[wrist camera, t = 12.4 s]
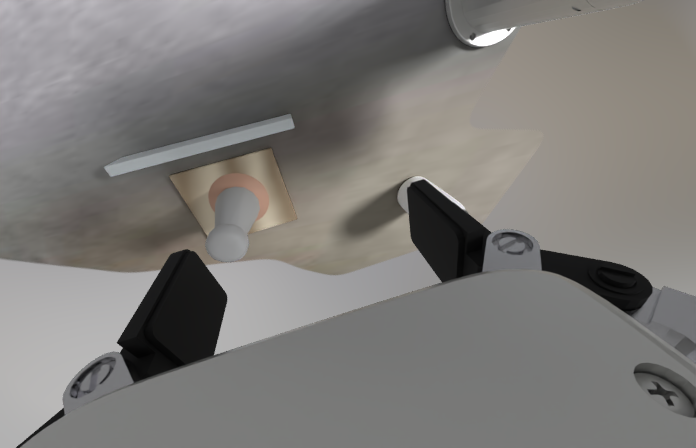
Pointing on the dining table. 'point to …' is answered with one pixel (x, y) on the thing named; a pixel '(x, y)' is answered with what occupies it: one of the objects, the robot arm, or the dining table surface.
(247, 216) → the salt shaker
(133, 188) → the dining table surface
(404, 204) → the can
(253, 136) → the acrylic wall
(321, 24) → the dining table surface
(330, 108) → the dining table surface
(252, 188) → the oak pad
